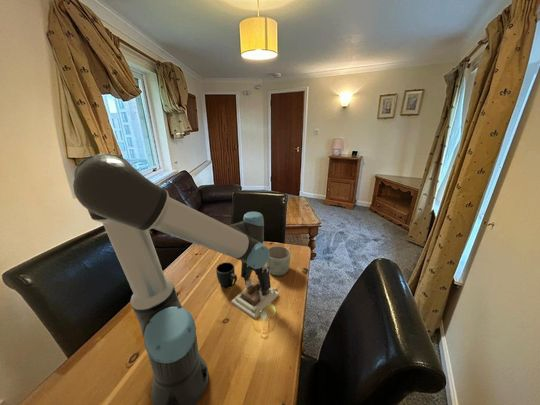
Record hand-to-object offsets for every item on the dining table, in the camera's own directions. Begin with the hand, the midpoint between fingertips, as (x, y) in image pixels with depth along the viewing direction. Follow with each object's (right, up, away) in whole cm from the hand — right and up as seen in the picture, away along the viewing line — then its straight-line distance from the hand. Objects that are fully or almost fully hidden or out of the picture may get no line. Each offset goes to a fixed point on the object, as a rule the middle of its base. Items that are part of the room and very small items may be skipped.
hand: (255, 296), depth 93 cm
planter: (+10, +5, +19) cm, 22 cm away
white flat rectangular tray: (0, -1, 0) cm, 1 cm away
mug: (-13, +1, +8) cm, 15 cm away
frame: (0, 0, 0) cm, 0 cm away
